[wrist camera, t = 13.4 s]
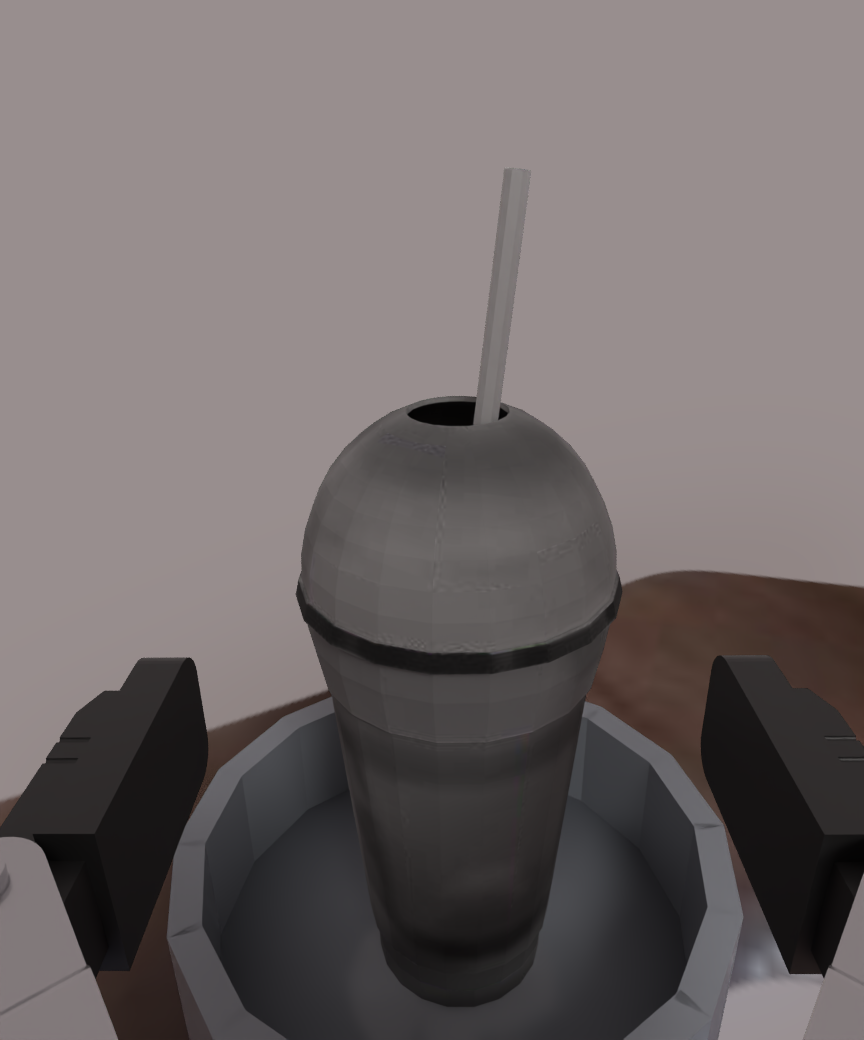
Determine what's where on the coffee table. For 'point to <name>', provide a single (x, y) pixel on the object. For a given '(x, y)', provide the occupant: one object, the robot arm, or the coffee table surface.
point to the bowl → (356, 939)
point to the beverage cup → (460, 657)
